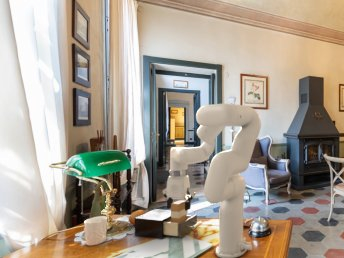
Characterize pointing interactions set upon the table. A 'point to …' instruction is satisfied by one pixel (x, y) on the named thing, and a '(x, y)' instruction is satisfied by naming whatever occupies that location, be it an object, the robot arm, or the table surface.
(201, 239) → the table surface
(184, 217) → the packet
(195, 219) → the drawer
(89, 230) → the white cup
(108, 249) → the table surface
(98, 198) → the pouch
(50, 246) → the table surface
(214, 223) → the table surface
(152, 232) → the cabinet
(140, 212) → the fruit
